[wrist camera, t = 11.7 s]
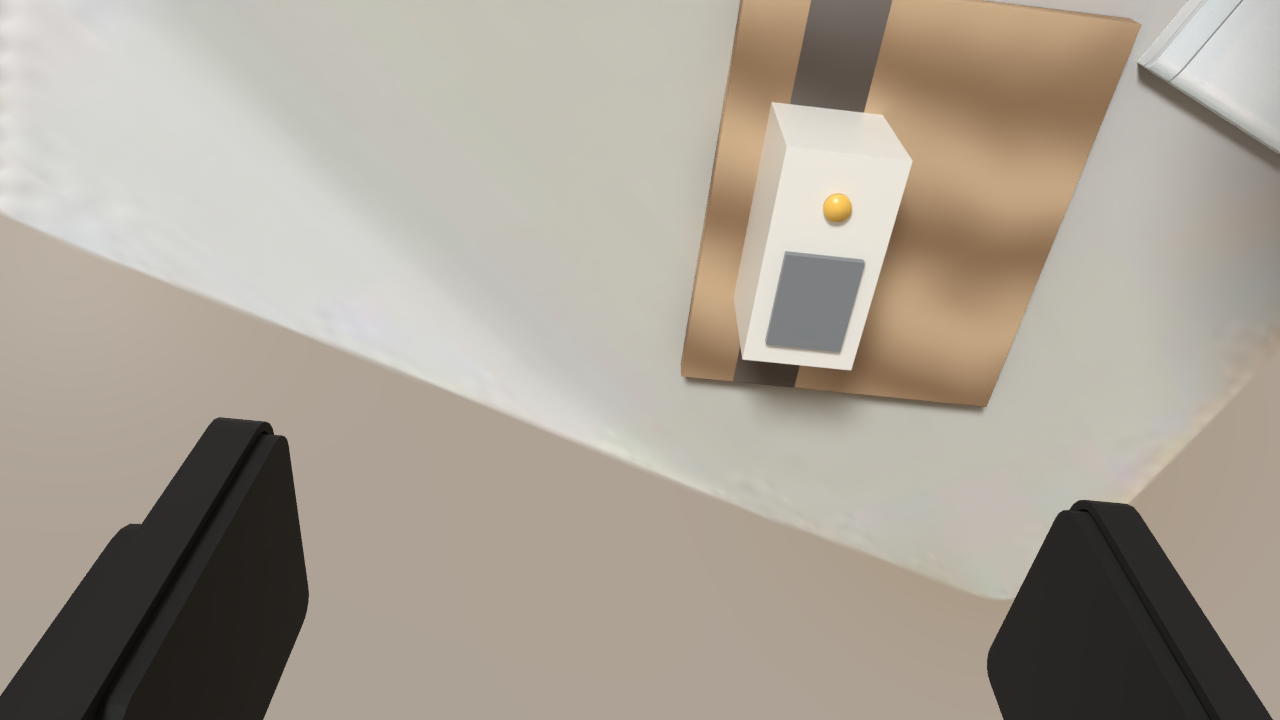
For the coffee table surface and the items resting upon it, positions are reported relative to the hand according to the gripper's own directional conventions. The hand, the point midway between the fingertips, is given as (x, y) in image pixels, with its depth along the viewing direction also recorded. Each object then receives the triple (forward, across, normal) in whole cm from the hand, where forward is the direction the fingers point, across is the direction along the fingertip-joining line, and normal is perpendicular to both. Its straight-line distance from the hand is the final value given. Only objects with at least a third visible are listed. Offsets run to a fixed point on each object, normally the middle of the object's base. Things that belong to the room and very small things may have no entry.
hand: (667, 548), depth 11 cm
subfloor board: (+28, -10, +7) cm, 31 cm away
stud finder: (+27, -7, +7) cm, 29 cm away
